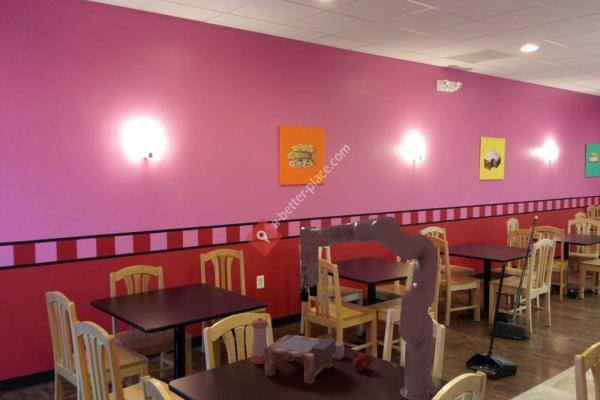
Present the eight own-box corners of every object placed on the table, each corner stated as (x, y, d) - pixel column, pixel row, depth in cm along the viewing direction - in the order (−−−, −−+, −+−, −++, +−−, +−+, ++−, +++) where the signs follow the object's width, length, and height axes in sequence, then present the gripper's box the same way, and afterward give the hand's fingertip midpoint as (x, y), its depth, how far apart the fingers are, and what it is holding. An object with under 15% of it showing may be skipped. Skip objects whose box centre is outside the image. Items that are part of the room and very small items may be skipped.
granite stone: (344, 356, 239) (344, 342, 239) (339, 359, 234) (339, 346, 234) (333, 354, 241) (333, 341, 241) (329, 357, 237) (329, 344, 236)
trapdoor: (336, 351, 221) (336, 339, 221) (322, 362, 209) (322, 349, 208) (291, 344, 230) (291, 332, 230) (276, 354, 218) (276, 342, 217)
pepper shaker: (270, 363, 230) (270, 319, 229) (254, 365, 227) (254, 321, 226) (265, 357, 237) (265, 314, 236) (249, 359, 234) (249, 316, 233)
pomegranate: (372, 373, 224) (356, 355, 228) (381, 363, 220) (364, 345, 225) (362, 380, 219) (346, 362, 223) (370, 370, 215) (354, 351, 219)
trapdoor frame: (331, 366, 226) (331, 340, 226) (311, 384, 208) (311, 356, 207) (288, 358, 235) (288, 334, 235) (264, 374, 217) (264, 348, 216)
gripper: (310, 261, 206) (309, 304, 207) (325, 254, 222) (324, 295, 223) (292, 259, 209) (292, 303, 210) (308, 253, 225) (308, 293, 226)
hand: (308, 298), depth 216 cm, fingers open, 9 cm apart
